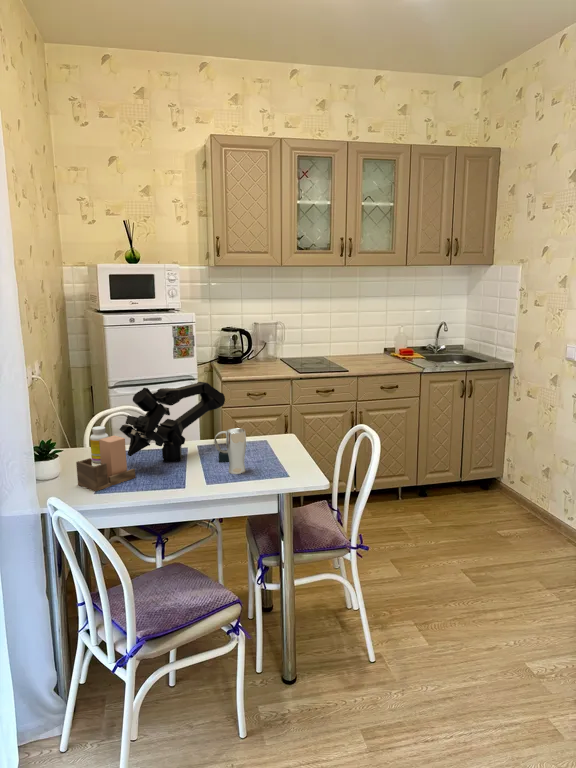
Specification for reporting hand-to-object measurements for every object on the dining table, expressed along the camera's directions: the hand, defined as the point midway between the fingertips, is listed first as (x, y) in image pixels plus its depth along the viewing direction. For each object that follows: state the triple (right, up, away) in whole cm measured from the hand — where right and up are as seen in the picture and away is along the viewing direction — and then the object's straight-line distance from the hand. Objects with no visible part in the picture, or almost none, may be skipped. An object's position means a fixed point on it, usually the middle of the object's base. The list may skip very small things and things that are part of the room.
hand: (128, 455), depth 205 cm
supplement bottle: (-15, -4, +16) cm, 22 cm away
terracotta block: (-4, -6, -4) cm, 8 cm away
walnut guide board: (-6, -8, -6) cm, 11 cm away
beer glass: (+38, -6, +2) cm, 38 cm away
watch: (+32, -4, +15) cm, 36 cm away
